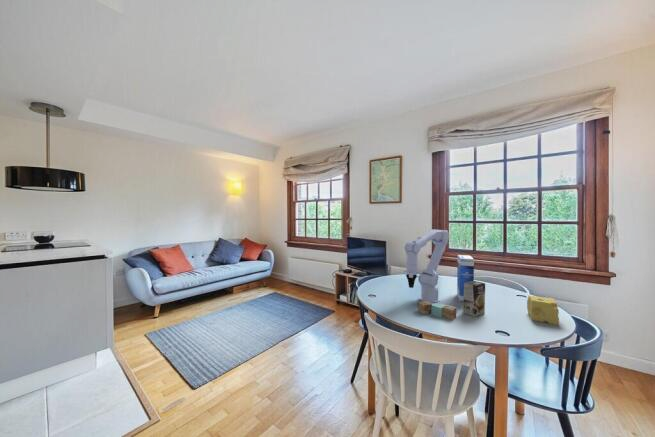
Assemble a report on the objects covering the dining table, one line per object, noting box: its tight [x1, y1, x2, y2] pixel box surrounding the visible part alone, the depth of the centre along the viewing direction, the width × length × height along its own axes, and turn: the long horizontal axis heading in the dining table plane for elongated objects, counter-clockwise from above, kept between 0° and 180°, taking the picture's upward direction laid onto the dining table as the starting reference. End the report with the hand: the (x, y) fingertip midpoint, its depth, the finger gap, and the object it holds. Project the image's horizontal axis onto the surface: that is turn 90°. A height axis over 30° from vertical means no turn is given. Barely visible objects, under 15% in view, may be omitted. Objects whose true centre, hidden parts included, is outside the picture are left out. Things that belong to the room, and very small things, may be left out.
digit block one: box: [417, 300, 433, 315], centre depth 131 cm, size 5×5×5 cm
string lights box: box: [456, 254, 475, 302], centre depth 151 cm, size 13×8×26 cm, turn 158°
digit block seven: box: [442, 304, 457, 321], centre depth 125 cm, size 5×5×5 cm
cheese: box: [526, 294, 560, 326], centre depth 123 cm, size 10×11×10 cm
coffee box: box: [462, 280, 486, 317], centre depth 129 cm, size 9×6×16 cm
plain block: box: [430, 302, 446, 319], centre depth 127 cm, size 5×5×5 cm
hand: (411, 287), depth 139 cm, fingers closed
